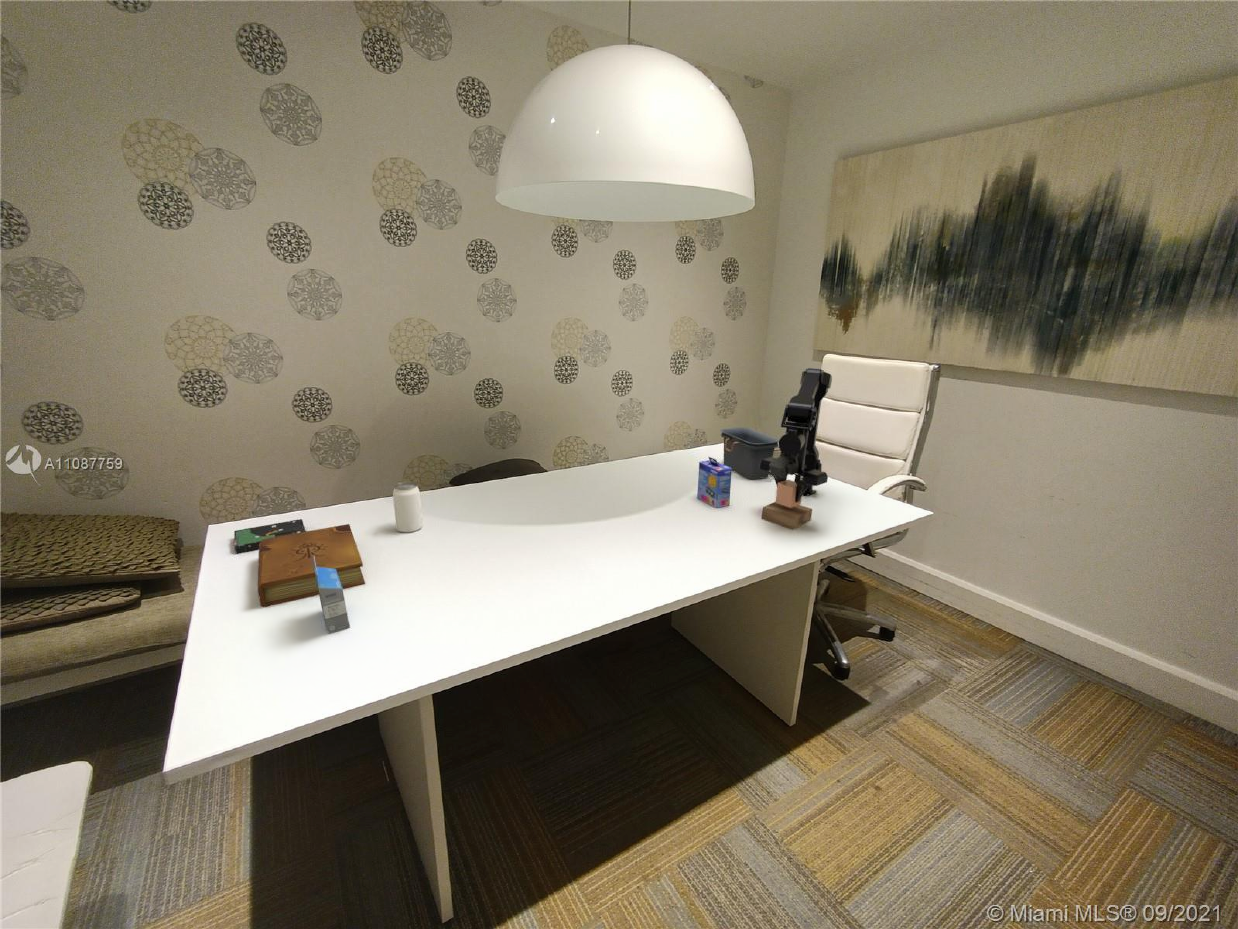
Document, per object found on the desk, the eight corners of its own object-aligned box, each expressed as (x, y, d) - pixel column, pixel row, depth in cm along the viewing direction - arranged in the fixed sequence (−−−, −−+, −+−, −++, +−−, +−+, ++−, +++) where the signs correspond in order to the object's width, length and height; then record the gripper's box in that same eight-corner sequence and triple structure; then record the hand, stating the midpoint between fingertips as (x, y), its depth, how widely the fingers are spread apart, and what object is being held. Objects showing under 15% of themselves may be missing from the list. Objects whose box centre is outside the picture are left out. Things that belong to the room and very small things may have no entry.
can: (427, 528, 142) (423, 485, 139) (403, 535, 138) (399, 491, 134) (415, 521, 146) (411, 479, 143) (392, 528, 142) (387, 485, 138)
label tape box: (350, 628, 99) (341, 569, 96) (325, 635, 97) (316, 574, 93) (343, 605, 106) (335, 549, 103) (320, 611, 104) (311, 554, 100)
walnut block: (779, 511, 161) (781, 499, 160) (810, 521, 154) (812, 508, 153) (761, 520, 155) (762, 507, 154) (792, 531, 148) (794, 517, 147)
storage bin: (779, 479, 190) (784, 440, 186) (744, 484, 184) (748, 444, 179) (742, 462, 208) (745, 426, 204) (709, 466, 202) (712, 429, 198)
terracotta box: (785, 498, 156) (788, 479, 155) (800, 504, 153) (803, 484, 151) (775, 502, 153) (777, 482, 152) (790, 507, 150) (793, 487, 148)
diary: (262, 562, 123) (258, 539, 122) (352, 545, 133) (349, 523, 131) (261, 610, 105) (256, 583, 103) (365, 585, 114) (362, 561, 113)
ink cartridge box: (695, 498, 169) (698, 454, 165) (709, 495, 172) (712, 452, 168) (715, 508, 161) (719, 462, 157) (729, 505, 164) (734, 460, 160)
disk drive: (303, 528, 142) (235, 540, 133) (302, 518, 141) (233, 530, 133) (308, 542, 134) (236, 556, 125) (306, 532, 133) (234, 545, 125)
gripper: (749, 443, 150) (744, 495, 155) (808, 459, 136) (801, 516, 141) (774, 437, 157) (768, 487, 161) (832, 452, 143) (824, 507, 148)
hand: (788, 499), depth 153 cm, fingers closed on terracotta box, 5 cm apart
